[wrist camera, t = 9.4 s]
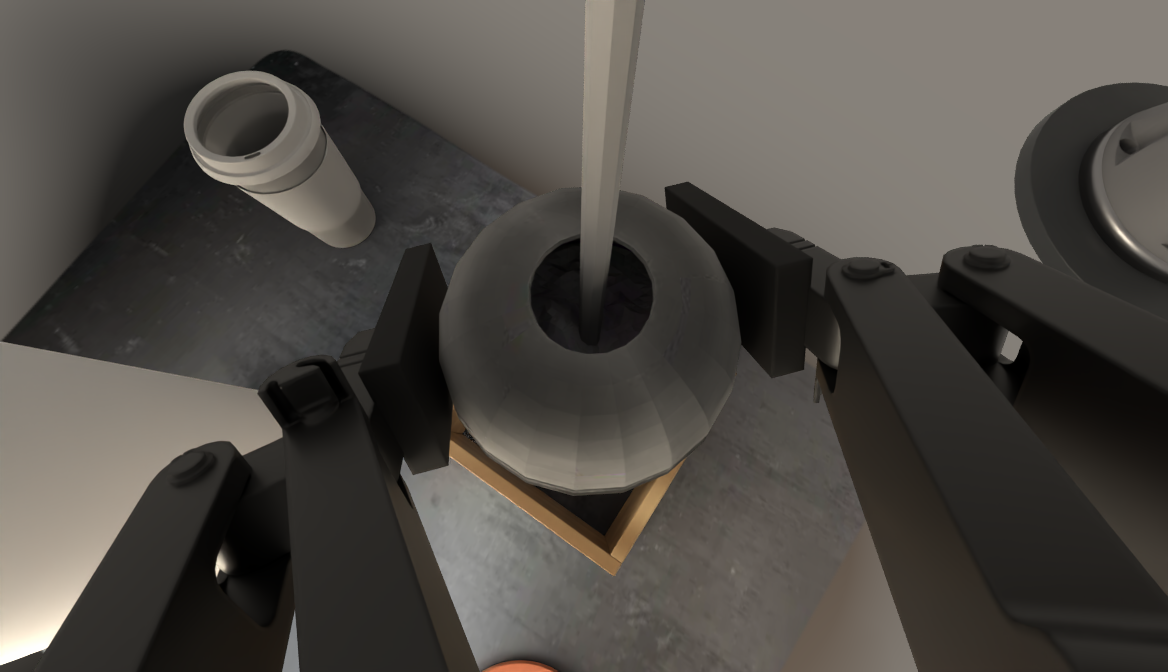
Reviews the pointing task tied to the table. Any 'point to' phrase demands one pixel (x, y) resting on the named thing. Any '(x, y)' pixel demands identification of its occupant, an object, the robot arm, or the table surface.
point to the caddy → (558, 518)
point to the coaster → (520, 667)
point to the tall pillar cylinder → (90, 469)
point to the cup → (278, 154)
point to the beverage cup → (591, 312)
